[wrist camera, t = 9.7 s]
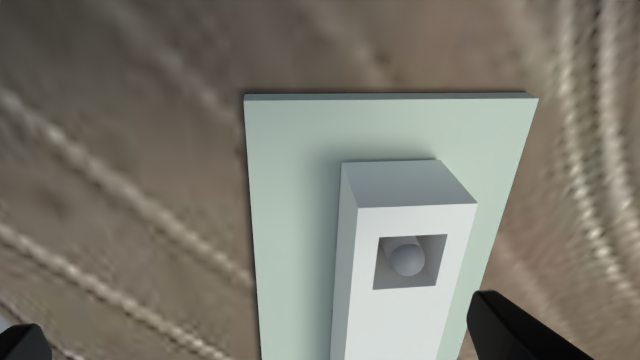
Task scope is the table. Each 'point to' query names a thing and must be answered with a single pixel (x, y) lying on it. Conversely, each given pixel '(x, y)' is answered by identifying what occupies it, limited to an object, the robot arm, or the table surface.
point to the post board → (324, 194)
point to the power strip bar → (373, 266)
